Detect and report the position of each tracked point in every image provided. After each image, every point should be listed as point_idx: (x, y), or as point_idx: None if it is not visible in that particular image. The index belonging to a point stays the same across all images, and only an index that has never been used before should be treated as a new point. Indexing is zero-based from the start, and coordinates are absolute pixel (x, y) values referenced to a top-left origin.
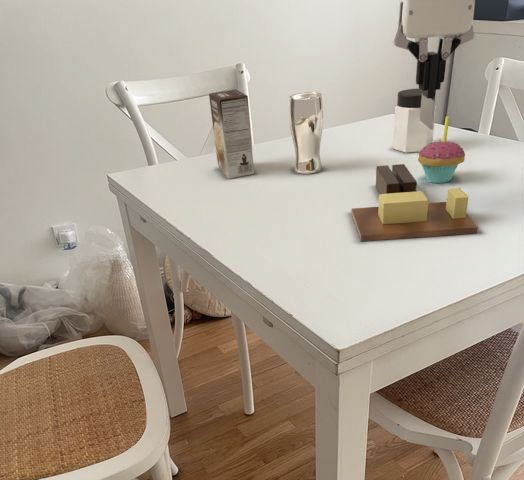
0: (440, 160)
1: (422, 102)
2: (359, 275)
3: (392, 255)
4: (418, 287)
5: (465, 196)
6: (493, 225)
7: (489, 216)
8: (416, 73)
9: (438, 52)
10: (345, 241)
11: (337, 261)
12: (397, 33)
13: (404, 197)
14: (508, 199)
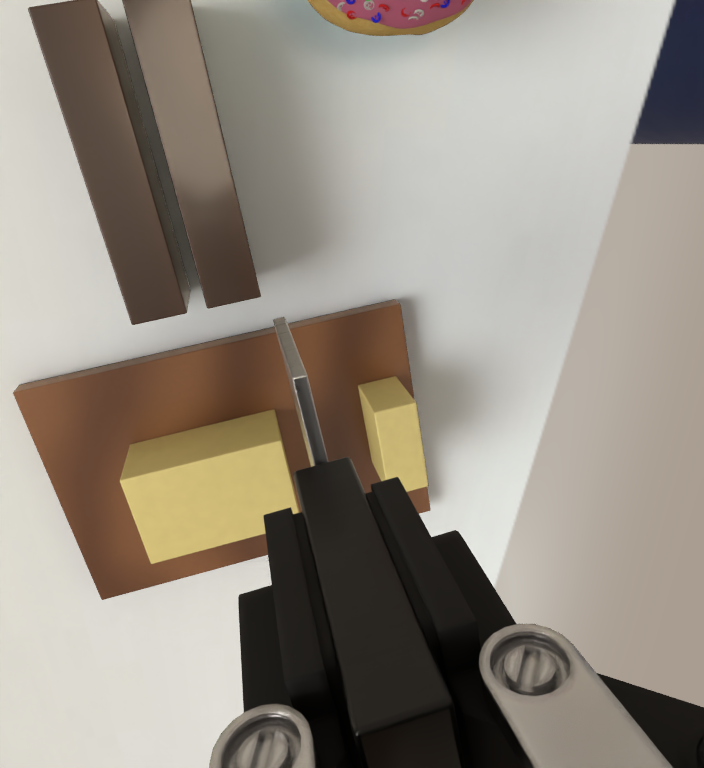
0: (379, 30)
1: (293, 390)
2: (137, 742)
3: (205, 645)
4: None
5: (420, 482)
6: (476, 444)
7: (481, 379)
8: (241, 640)
9: (500, 741)
10: (56, 592)
11: (65, 697)
12: None
13: (219, 507)
14: (573, 225)
